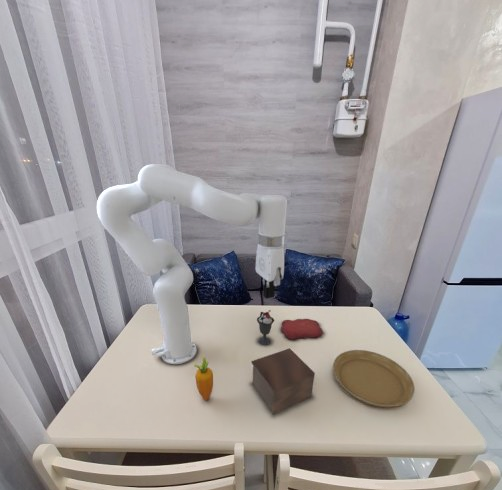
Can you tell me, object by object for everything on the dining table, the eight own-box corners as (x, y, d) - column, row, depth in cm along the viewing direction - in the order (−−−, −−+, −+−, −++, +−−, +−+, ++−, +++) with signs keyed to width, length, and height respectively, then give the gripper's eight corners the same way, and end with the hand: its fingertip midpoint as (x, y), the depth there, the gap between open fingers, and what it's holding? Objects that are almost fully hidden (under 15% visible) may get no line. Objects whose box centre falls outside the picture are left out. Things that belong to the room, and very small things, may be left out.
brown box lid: (272, 392, 70) (273, 390, 70) (251, 363, 80) (251, 361, 80) (314, 375, 76) (315, 372, 76) (289, 349, 86) (289, 348, 86)
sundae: (272, 347, 101) (274, 314, 95) (254, 345, 102) (255, 311, 96) (274, 337, 107) (276, 305, 100) (257, 335, 108) (258, 303, 102)
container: (273, 414, 74) (274, 391, 70) (252, 384, 84) (252, 362, 80) (311, 397, 80) (314, 375, 76) (287, 370, 90) (289, 350, 86)
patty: (285, 341, 105) (285, 337, 104) (277, 322, 117) (277, 318, 116) (327, 337, 107) (327, 333, 106) (314, 319, 119) (315, 315, 119)
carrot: (207, 409, 75) (203, 369, 69) (194, 402, 78) (189, 362, 71) (218, 398, 79) (215, 358, 73) (205, 391, 81) (202, 352, 75)
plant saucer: (431, 407, 77) (434, 399, 75) (354, 418, 73) (357, 410, 72) (381, 353, 98) (383, 346, 97) (320, 360, 95) (321, 353, 93)
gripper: (248, 235, 80) (248, 289, 88) (272, 248, 68) (269, 310, 76) (270, 233, 83) (267, 285, 91) (297, 245, 71) (291, 304, 79)
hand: (268, 296), depth 83 cm, fingers closed
